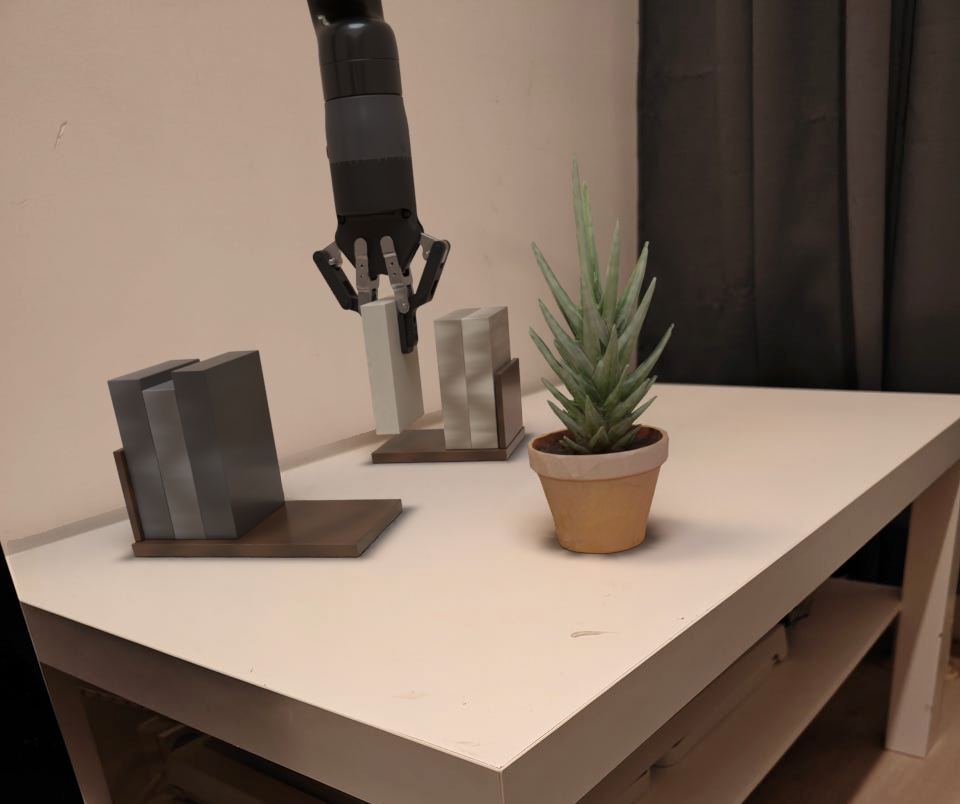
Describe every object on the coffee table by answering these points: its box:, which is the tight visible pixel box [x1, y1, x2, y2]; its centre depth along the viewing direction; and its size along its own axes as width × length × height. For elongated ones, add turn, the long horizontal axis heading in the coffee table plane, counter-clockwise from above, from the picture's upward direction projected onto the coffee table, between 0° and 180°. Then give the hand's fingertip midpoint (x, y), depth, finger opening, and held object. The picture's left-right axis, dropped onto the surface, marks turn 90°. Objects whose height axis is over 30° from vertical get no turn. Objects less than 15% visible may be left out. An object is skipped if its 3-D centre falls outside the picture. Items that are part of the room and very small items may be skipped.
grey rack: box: [106, 349, 403, 558], centre depth 71 cm, size 18×11×13 cm, turn 77°
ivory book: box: [360, 294, 425, 436], centre depth 93 cm, size 2×9×12 cm, turn 168°
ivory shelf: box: [371, 305, 526, 464], centre depth 92 cm, size 14×10×13 cm
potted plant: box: [527, 151, 675, 554], centre depth 61 cm, size 10×10×25 cm
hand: (392, 352), depth 92 cm, fingers closed on ivory book, 2 cm apart
